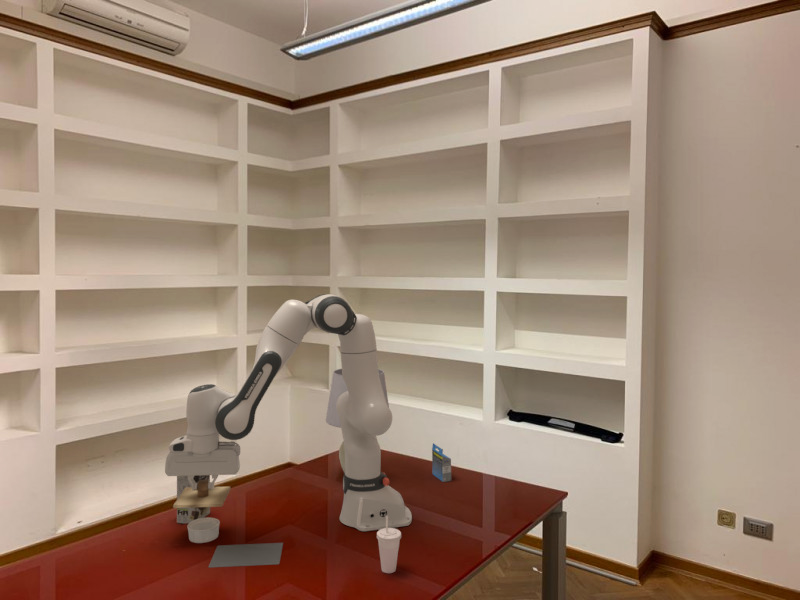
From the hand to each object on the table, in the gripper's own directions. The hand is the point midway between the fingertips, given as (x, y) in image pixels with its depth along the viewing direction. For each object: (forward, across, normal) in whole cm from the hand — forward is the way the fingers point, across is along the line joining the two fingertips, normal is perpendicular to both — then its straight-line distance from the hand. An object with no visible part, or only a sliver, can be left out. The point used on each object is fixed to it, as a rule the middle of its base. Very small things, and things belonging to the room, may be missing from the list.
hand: (203, 489), depth 167 cm
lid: (+2, 0, 0) cm, 2 cm away
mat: (+14, -14, +12) cm, 23 cm away
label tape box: (+14, -77, -42) cm, 89 cm away
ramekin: (+14, 0, 0) cm, 15 cm away
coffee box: (+14, +6, -14) cm, 21 cm away
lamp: (+14, -46, -44) cm, 65 cm away
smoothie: (+14, -52, +23) cm, 58 cm away
